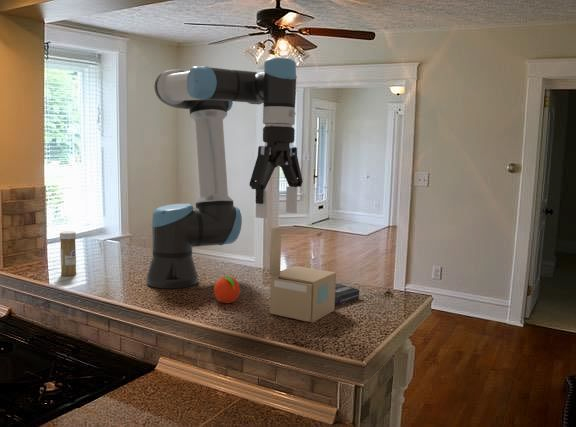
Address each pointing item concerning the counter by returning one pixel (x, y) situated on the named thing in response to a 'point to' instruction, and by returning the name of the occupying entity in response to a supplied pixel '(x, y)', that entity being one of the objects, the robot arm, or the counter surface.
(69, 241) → the sprinkles bottle
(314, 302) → the carton
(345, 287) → the box
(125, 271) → the counter surface
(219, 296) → the clementine
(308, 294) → the tan tapered piece
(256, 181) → the robot arm
